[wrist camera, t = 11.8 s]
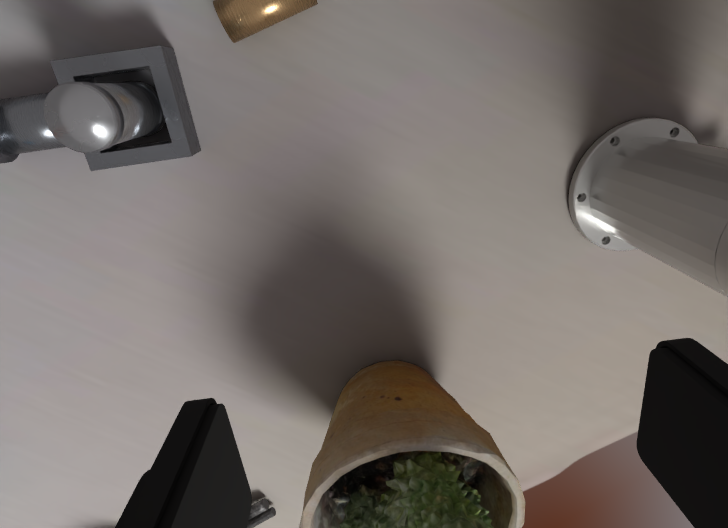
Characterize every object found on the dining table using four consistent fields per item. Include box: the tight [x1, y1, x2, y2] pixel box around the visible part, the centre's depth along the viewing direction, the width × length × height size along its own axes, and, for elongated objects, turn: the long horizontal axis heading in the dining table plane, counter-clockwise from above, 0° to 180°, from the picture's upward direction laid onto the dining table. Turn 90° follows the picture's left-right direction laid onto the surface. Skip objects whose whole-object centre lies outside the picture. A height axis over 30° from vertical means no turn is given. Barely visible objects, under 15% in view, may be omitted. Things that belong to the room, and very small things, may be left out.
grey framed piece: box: [0, 46, 201, 171], centre depth 34 cm, size 15×8×5 cm, turn 98°
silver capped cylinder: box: [44, 81, 165, 153], centre depth 32 cm, size 4×4×10 cm
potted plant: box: [299, 360, 525, 528], centre depth 39 cm, size 18×19×25 cm
